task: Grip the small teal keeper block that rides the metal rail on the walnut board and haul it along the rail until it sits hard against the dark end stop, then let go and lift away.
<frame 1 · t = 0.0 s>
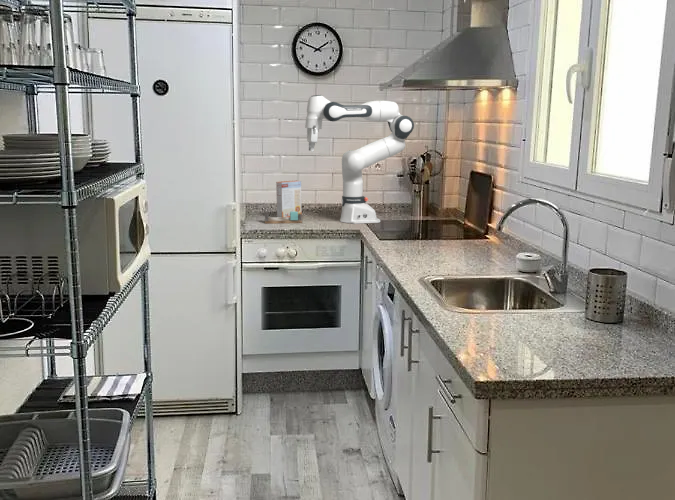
hand: (311, 151, 380), 39 cm above the worktop, tool pointing down, fingers open, 8 cm apart
keeper: (294, 215, 386), point 3 cm above the worktop, slide at 0.0 cm
cracker box: (289, 217, 405), on the worktop
track: (283, 222, 386), on the worktop
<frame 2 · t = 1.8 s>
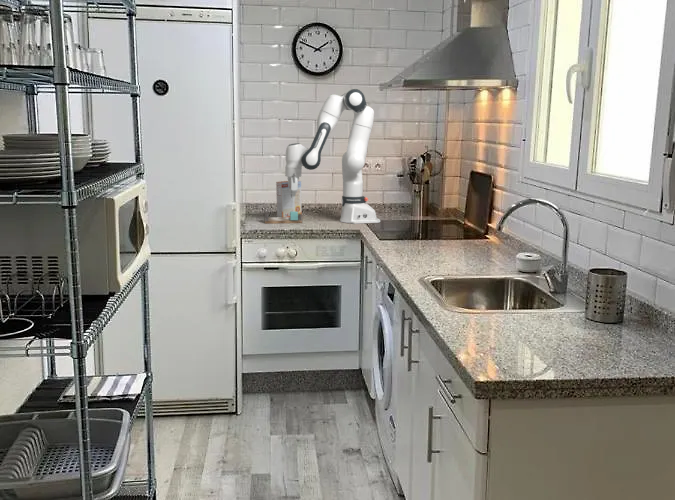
hand: (292, 198, 384), 13 cm above the worktop, tool pointing down, fingers open, 8 cm apart
nothing on the worktop moved.
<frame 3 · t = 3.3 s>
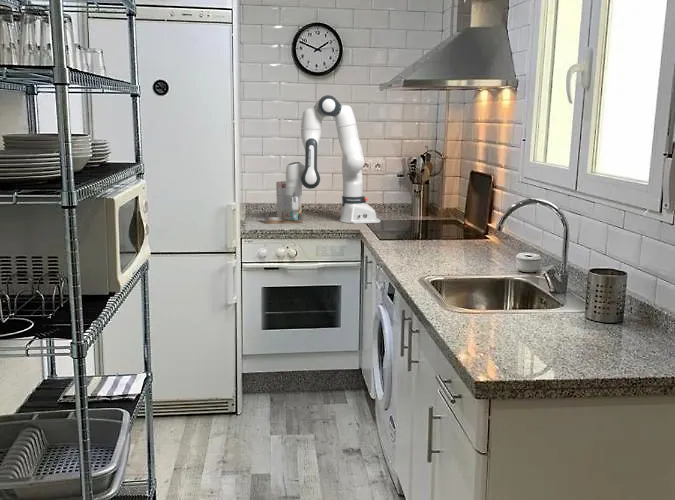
hand: (293, 217, 386), 3 cm above the worktop, tool pointing down, fingers closed on keeper, 5 cm apart
keeper: (293, 215, 386), point 3 cm above the worktop, slide at 0.0 cm, touching gripper
everything else where it was.
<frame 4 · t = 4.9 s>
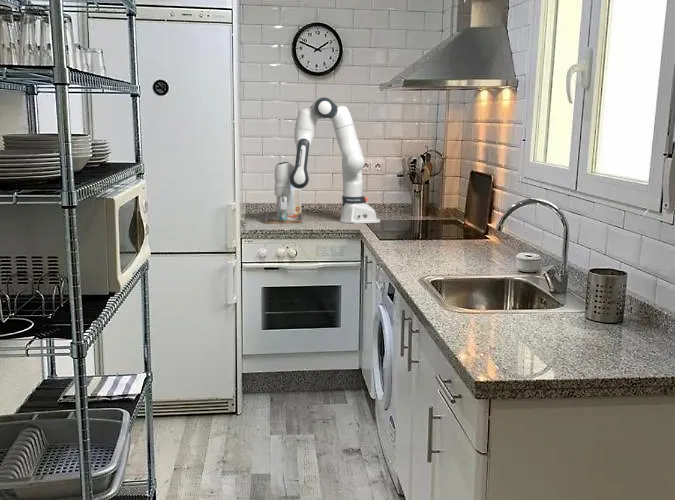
hand: (282, 217, 386), 3 cm above the worktop, tool pointing down, fingers closed on keeper, 5 cm apart
keeper: (282, 215, 385), point 3 cm above the worktop, slide at 6.1 cm, touching gripper
everything else where it was.
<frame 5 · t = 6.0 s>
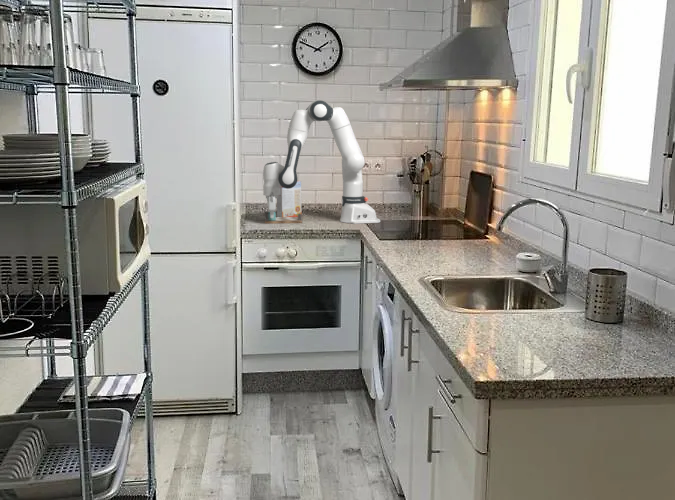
hand: (271, 217, 385), 3 cm above the worktop, tool pointing down, fingers closed on keeper, 5 cm apart
keeper: (271, 216, 385), point 3 cm above the worktop, slide at 12.2 cm, touching gripper, track
everything else where it was.
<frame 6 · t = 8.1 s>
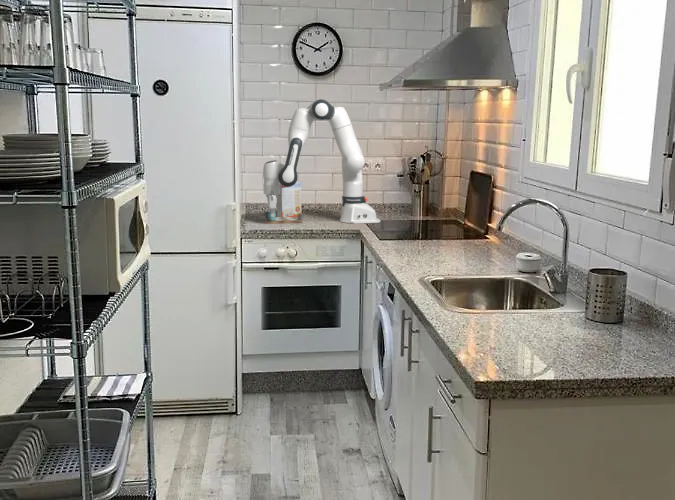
hand: (272, 215, 385), 4 cm above the worktop, tool pointing down, fingers open, 8 cm apart
keeper: (271, 216, 385), point 3 cm above the worktop, slide at 12.2 cm
everything else where it was.
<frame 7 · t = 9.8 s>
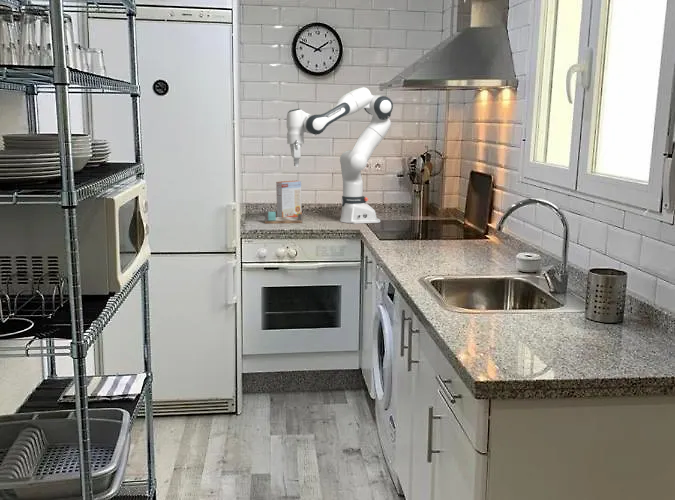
hand: (296, 166, 372), 31 cm above the worktop, tool pointing down, fingers open, 8 cm apart
nothing on the worktop moved.
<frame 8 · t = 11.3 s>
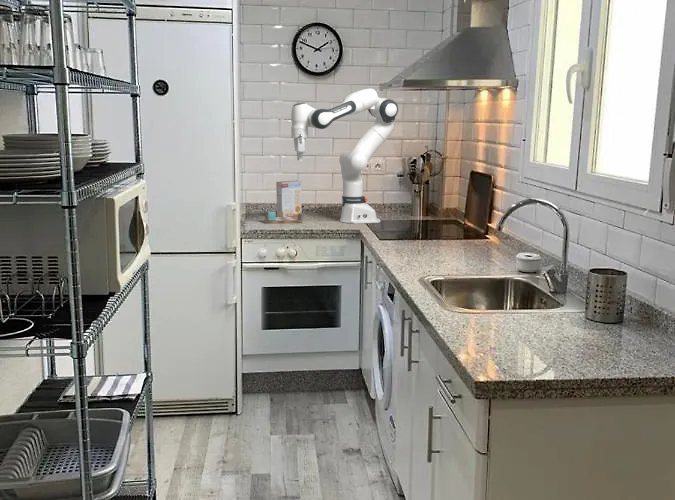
hand: (299, 160, 370), 34 cm above the worktop, tool pointing down, fingers open, 8 cm apart
nothing on the worktop moved.
at the end: keeper slide at 12.2 cm; the gripper is holding nothing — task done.
